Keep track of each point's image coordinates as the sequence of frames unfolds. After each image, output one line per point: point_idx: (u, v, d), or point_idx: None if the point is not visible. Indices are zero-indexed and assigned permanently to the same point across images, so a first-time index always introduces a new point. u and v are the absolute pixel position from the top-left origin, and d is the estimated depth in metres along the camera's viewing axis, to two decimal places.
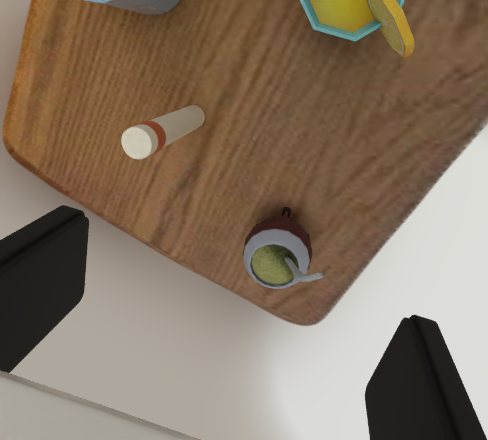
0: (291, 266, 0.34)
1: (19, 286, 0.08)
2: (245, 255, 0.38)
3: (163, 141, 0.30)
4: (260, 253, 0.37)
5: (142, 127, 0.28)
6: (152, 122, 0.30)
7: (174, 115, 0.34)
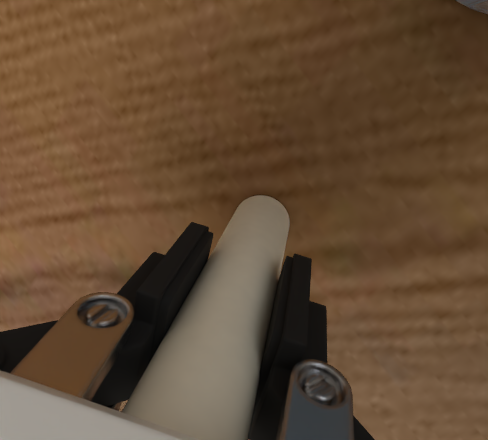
0: None
1: (180, 298, 0.09)
2: None
3: None
4: None
5: None
6: None
7: (266, 319, 0.10)
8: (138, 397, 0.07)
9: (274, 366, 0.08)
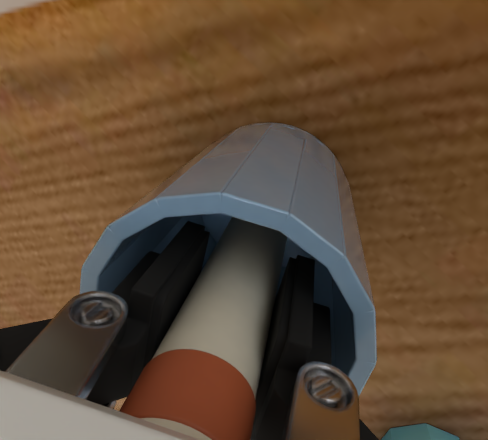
0: None
1: (176, 297, 0.09)
2: None
3: None
4: None
5: None
6: (248, 405, 0.07)
7: (274, 280, 0.11)
8: (175, 328, 0.08)
9: (279, 368, 0.08)
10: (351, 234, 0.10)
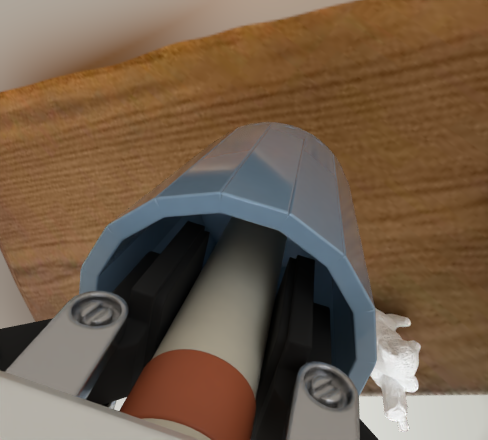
0: None
1: (176, 297, 0.09)
2: None
3: None
4: None
5: None
6: (248, 405, 0.07)
7: (274, 280, 0.11)
8: (175, 329, 0.08)
9: (279, 368, 0.08)
10: (351, 233, 0.10)
